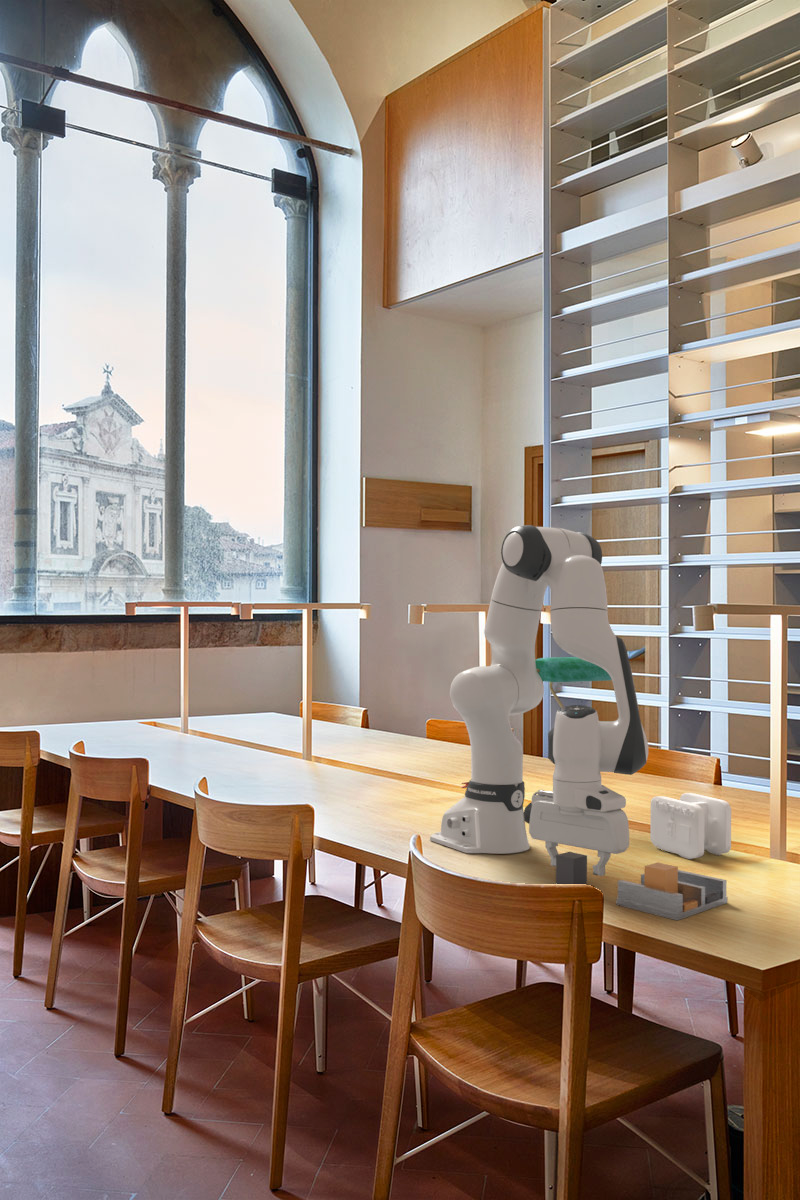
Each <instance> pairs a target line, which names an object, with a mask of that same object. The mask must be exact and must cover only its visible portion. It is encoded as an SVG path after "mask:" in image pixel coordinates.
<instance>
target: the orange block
mask: <svg viewBox="0 0 800 1200" xmlns="http://www.w3.org/2000/svg"><path fill="white" fill-rule="evenodd" d="M678 870H679V867H678V866H675V865H671V864H666V863H662V862H654V863H651V864H647V865H644V874H645V879H644V885H645V886H650V887H654V888H658V889H662V890H667V891H671V892H675V893H678Z"/></svg>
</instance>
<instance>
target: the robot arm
mask: <svg viewBox="0 0 800 1200" xmlns="http://www.w3.org/2000/svg"><path fill="white" fill-rule="evenodd" d="M602 550H603V549H602V547H601V545H600V543H599V541H598V540H597V539H596V538H595V537H592V536H591V535H589V534H586V533H584V532H580V531H577V532H576V531H573V530H569V529H566V528H562V527H547V526H534V525H532V524H527V525H526V524H525V525H524V524H523V525H518V526H515V527H513V528H511V529H510V530H509V531H508V532H507V533H506V535H505V537H504V539H503V542H502V544H501V550H500V551H501V552H500V553H501V559H502V563H501V566H500V567H499V570H498V573H497V576H496V578H495V582H494V586H493V588H492V592H491V597H490V603H489V607H488V609H487V610H488V611H487V615H486V621H485V624H484V630H483V631H484V632H483V634H484V638H485V639H486V641H487V642H488V644H490V649H491V663H490V665H488V666H487V665H486V666H485V665H484V666H483V665H482V666H475V667H471V668H468V669H466V670H464V671H460V672H459V673H458V674H456V675H455V677H454V678H453V680H452V682H451V684H450V687H449V688H450V689H449V698H450V702H451V704H452V706H453V708H454V709H455V710H456V712H458V714H459V715H460V716H461V718H462V719H463V722H464V725H465V726H466V727H465V728H466V731H467V733H468V737H469V743H470V763H471V764H470V767H471V768H470V769H471V773H470V774H471V775H470V778H471V779H469V781H466V782H462V783H461V785H463V786H461V788H462V789H466V790H465V792H464V796H463V797H462V798H460V799H459V800H458V801H457V802H456V803H455V804H453V805H452V806H451V807H449V809H447V810H446V811H445V812H444V814H443V815H442V817H441V823H440V831H438V832H435V833H433V834H431V835H430V837H429V841H431V842H434V843H437V844H439V845H443V846H446V847H449V848H451V849H455V850H457V851H459V852H463V853H464V854H495V855H496V854H503V855H504V854H516V853H522V852H526V851H528V850H529V849H530V848H531V847H530V843H529V840H528V835H527V829H526V823H525V822H526V821H525V820H524V802H525V796H526V795H525V794H526V793H525V792H526V790H525V789H526V788H525V782H524V781H523V778H524V776H523V774H524V769H523V767H524V762H523V760H524V759H523V757H524V748H523V744H522V743H521V741H520V740H519V739H518V738H517V737H516V736H515V734H514V730H513V729H512V726H511V725H512V724H511V719H510V716H515V715H522V714H525V713H527V712H529V711H531V710H533V709H535V708H537V706H539V705H540V703H541V701H542V700H543V698H544V691H545V687H544V683H543V682H544V681H542V679H541V677H540V676H539V674H538V673H537V670H536V663H535V660H536V641H537V635H538V631H539V624H540V619H541V614H542V609H543V605H544V600H545V595H546V591H547V588H548V587H549V589H550V627H551V629H550V630H551V634H552V635H551V636H552V637H553V640H554V643H556V644H557V646H559V648H560V649H561V650H562V651H564V652H565V653H567V654H569V655H570V656H572V657H577V658H580V659H582V660H585V661H588V662H590V663H593V664H595V665H597V666H599V667H601V668H603V669H604V670H605V671H606V672H607V673H608V674H609V675H610V677H611V679H612V680H611V681H612V686H613V689H614V690H613V691H614V696H615V701H616V707H617V713H618V718H617V719H616V720H613V721H611V720H610V721H609V720H607V721H606V720H605V721H604V720H603V721H602V720H599V715H598V711H597V709H595V708H593V707H591V706H588V705H585V704H584V705H582V704H569V705H567V706H564V705H563V706H564V707H562V708H561V707H560V708H559V709H557V711H556V712H555V718H554V719H555V720H554V726H553V727H552V728H551V729H550V730H549V732H548V733H547V740H548V742H547V743H548V744H547V745H548V747H547V748H548V751H547V753H548V755H547V759H548V760H549V761H550V762H551V763H552V764H554V770H553V774H552V790H544V789H538V790H537V791H536V792H535V791H534V793H533V794H532V796H531V802H532V808H531V814H530V822H529V823H528V833H529V835H530V837H531V839H532V840H538V841H543V842H545V843H544V845H545V849H546V851H547V853H548V856H549V857H550V866H551V867H555V868H556V855H558V854H559V852H558V849H557V847H558V846H559V845H565V846H571V847H576V848H579V849H580V848H581V849H586V850H591V851H597V857H598V858H599V860H598V861H597V863H596V864H592V870H593V871H592V875H594V876H598V877H602V876H605V874H606V865H607V864H608V862H609V860H610V858H611V856H612V854H613V855H618V854H623V853H625V852H626V851H628V848H629V847H630V828H629V827H630V826H629V819H628V815H627V813H626V812H625V811H624V810H623V809H624V808H626V805H627V799H626V797H625V796H624V795H622V794H619V793H618V792H616V791H614V790H612V789H610V788H608V787H607V786H606V785H603V784H602V774H601V772H603V773H614V774H620V775H629V776H632V775H633V774H636V773H637V772H639V771H640V770H641V769H642V768H644V766H645V765H646V764H647V761H648V757H649V742H648V738H647V735H646V732H645V729H644V726H643V724H642V721H641V716H640V711H639V710H640V708H639V703H638V698H637V694H636V687H635V682H634V677H633V675H634V674H633V670H632V667H631V663H630V658H629V654H628V653H629V652H628V650H627V647H626V644H625V642H624V640H623V638H621V637H619V636H617V635H615V632H614V631H613V629H612V627H611V624H610V621H609V617H608V615H609V613H608V595H607V586H606V580H605V578H606V577H605V575H604V569H603V567H602V561H603V551H602Z"/></svg>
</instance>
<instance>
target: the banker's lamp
mask: <svg viewBox="0 0 800 1200" xmlns="http://www.w3.org/2000/svg"><path fill="white" fill-rule="evenodd" d="M535 663H536V670H537V673H538V674H539V676H540V677H541V679H542V681H543V682H547V683H548V682H549V683H548V687H549V691H550V693H551V694H552V696H553V698H554V699H555V701H556V702H557V704H558V705H559V707H560V708H562V707H564V705H563V703H562V701H561V699H560V698H559V697H558V695H557V694H556V692H555V690H554V688H553V684H554V683H573V682H574V683H576V682H577V683H578V682H579V683H580V682H604V681H606V682H607V681H612V679H611V677H610V675H609V674H608V673H607V672H606V671H605V670H604V669H603V668H601V667H599V666H597V665H595V664H593V663H590V662H588V661H585V660H582V659H580V658H577V657H575V656H572V657H571V656H570V657H569V656H567V657H566V656H565V657H563V656H562V657H553V656H552V657H540V658H539V657H538V658H537V659H536V658H535ZM531 808H532V801H531V802H530V803H528V804H527V805H526V806H525V808H524V809H523V811H524V820H525V822H527V823H528V824H529V822H530V814H531Z"/></svg>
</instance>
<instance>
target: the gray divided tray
mask: <svg viewBox="0 0 800 1200" xmlns="http://www.w3.org/2000/svg"><path fill="white" fill-rule="evenodd" d="M644 879H645V873H642V874H640V883H636V882H632V881H629V880H624V879H620V880H618V881H617V898H616V903H615V904H616V906H619V905H620V907H623V908H628V909H632V910H636V911H639V912H644V913H646V914H650V915H654V916H657V917H658V916H660V917H662V918H667V919H670V920H674V921H680V920H683V919H685V918H688V917H691V916H694V915H697V914H699V913H703V912H705V911H708V910H710V909H714V908H717V907H720V906H723V905H725V904H728V897H729V896H727V879H723V878H717V877H714V876H708V875H703V874H699V873H695V872H690V871H685V870H681V869H678V893H675V892H671V891H667V890H662V889H658V888H654V887H650V886H645V885H644Z"/></svg>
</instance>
